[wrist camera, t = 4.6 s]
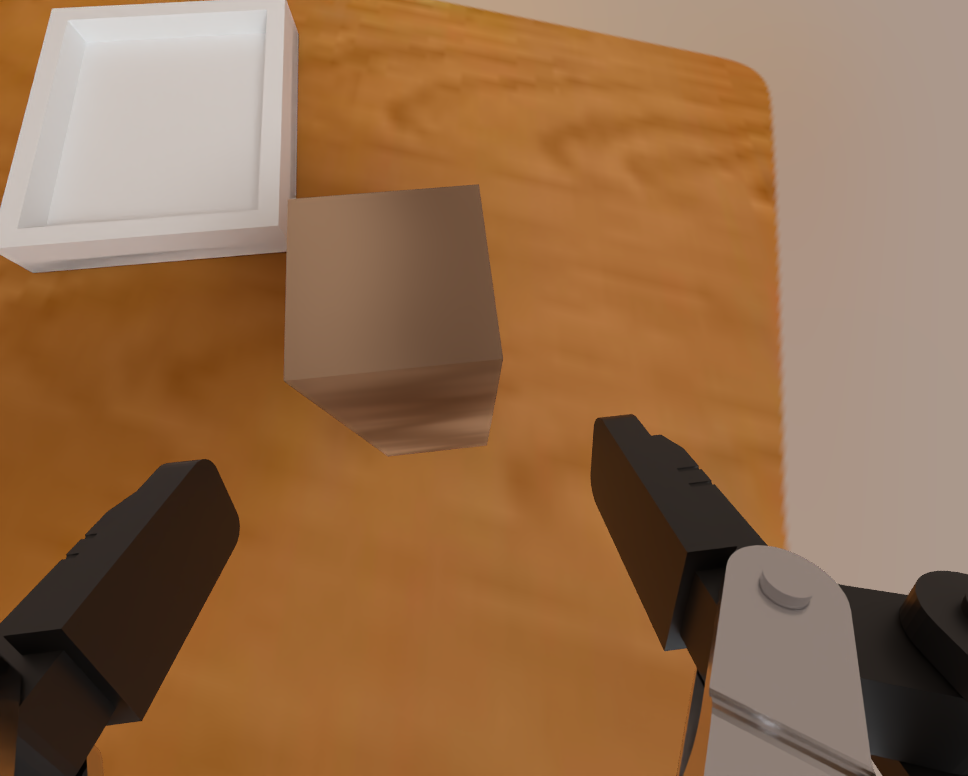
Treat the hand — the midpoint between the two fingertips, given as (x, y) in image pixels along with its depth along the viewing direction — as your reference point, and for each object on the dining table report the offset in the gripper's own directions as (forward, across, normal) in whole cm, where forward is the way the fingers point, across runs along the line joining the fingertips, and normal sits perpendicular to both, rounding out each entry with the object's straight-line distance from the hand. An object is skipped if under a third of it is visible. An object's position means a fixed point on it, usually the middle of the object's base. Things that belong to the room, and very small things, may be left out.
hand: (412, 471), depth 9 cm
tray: (+22, +13, -8) cm, 27 cm away
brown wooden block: (+10, 0, +4) cm, 11 cm away
